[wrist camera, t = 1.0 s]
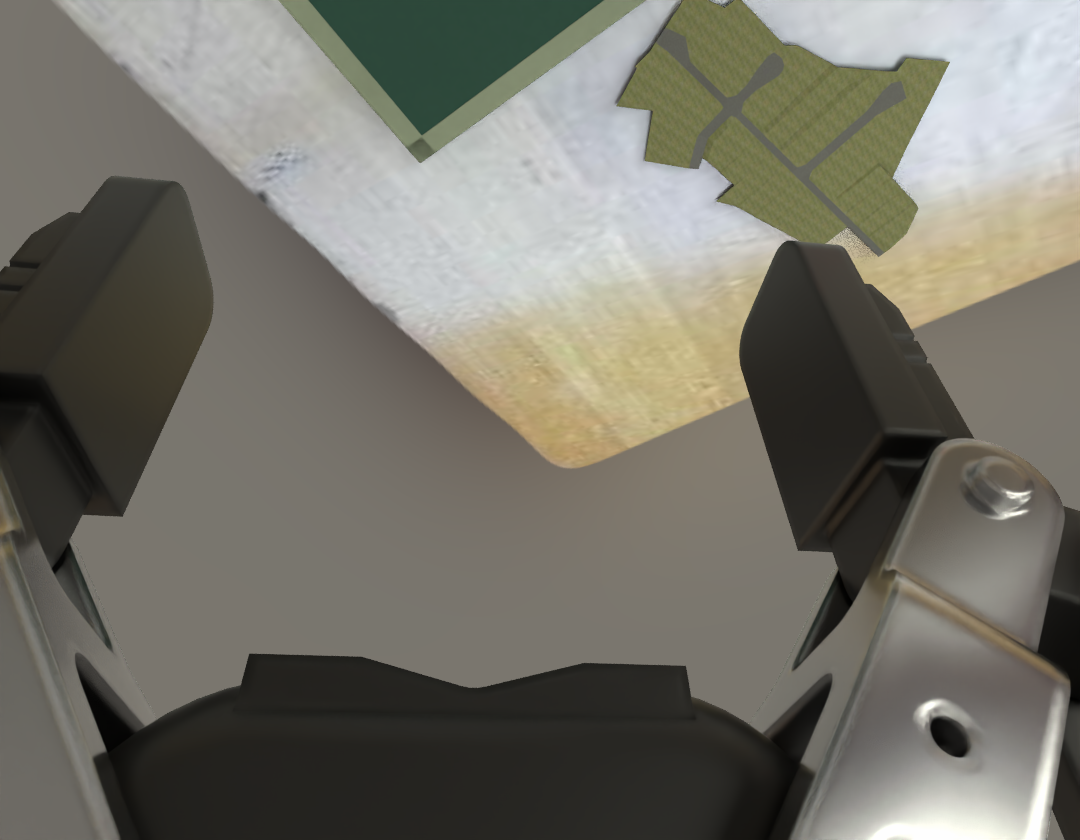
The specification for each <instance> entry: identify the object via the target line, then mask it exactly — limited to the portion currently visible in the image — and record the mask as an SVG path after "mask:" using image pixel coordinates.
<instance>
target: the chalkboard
mask: <svg viewBox="0 0 1080 840" xmlns="http://www.w3.org/2000/svg"><path fill="white" fill-rule="evenodd" d="M279 1H280V3H281V4H282V5H283V6H284V7H285V8H286V9H287V11H288V12H289V13H290V14H291V15H292V16H293V18H294V19H295V20H296V21H297V22H298V23H299V24H300V26H301V27H302V28H303V29H304V30H305V31H306V33H307V34H308V35H309V36H310V37H311V38H312V39H313V41H314V42H315V43H316V44H317V45H318V46H319V47H320V49H321V50H322V51H323V52H324V53H325V54H326V56H327V57H328V58H329V59H330V60H331V61H332V62H333V64H334V65H335V66H336V67H337V68H338V69H339V71H340V72H341V73H342V74H343V75H344V76H345V77H346V79H347V80H348V81H349V82H350V83H351V84H352V86H353V87H354V88H355V89H356V90H357V91H358V92H359V94H360V95H361V96H362V97H363V98H364V99H365V100H366V102H367V103H368V104H369V105H370V106H371V107H372V109H373V110H374V111H375V112H376V113H377V114H378V115H379V117H380V118H381V119H382V120H383V121H384V122H385V124H386V125H387V126H388V127H389V128H390V129H391V130H392V132H393V133H394V134H395V135H396V136H397V137H398V139H399V140H400V141H401V142H402V143H403V144H404V145H405V147H406V148H407V149H408V150H409V151H410V152H411V153H412V155H413V156H414V157H415V158H416V159H417V160H418V162H419V163H421V162H423V161H424V160H425V159H427V158H428V157H430V156H431V155H432V154H434V153H435V152H437V151H438V150H439V149H441V148H442V147H443V146H445V145H446V144H448V143H449V142H450V141H452V140H453V139H455V138H456V137H457V136H459V135H460V134H461V133H463V132H464V131H466V130H467V129H468V128H470V127H471V126H473V125H474V124H475V123H477V122H478V121H479V120H481V119H482V118H484V117H485V116H486V115H488V114H489V113H491V112H492V111H493V110H495V109H496V108H497V107H499V106H500V105H502V104H503V103H504V102H506V101H507V100H508V99H510V98H511V97H513V96H514V95H515V94H517V93H518V92H520V91H521V90H522V89H524V88H525V87H526V86H528V85H529V84H531V83H532V82H533V81H535V80H536V79H538V78H539V77H540V76H542V75H543V74H544V73H546V72H547V71H549V70H550V69H551V68H553V67H554V66H556V65H557V64H558V63H560V62H561V61H562V60H564V59H565V58H567V57H568V56H569V55H571V54H572V53H574V52H575V51H576V50H578V49H579V48H580V47H582V46H583V45H585V44H586V43H587V42H589V41H590V40H591V39H593V38H594V37H596V36H597V35H598V34H600V33H601V32H603V31H604V30H605V29H607V28H608V27H609V26H611V25H612V24H614V23H615V22H616V21H618V20H619V19H621V18H622V17H623V16H625V15H626V14H627V13H629V12H630V11H632V10H633V9H634V8H636V7H637V6H639V5H640V4H641V3H643V2H644V1H645V0H279Z"/></svg>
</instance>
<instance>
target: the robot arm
mask: <svg viewBox="0 0 1080 840" xmlns="http://www.w3.org/2000/svg"><path fill="white" fill-rule="evenodd" d="M212 314H213V288H212V282H211V278H210V274H209V271H208V267H207V263H206V260H205V256H204V253H203V249H202V246H201V242H200V238H199V235H198V231H197V228H196V224H195V221H194V217H193V213H192V210H191V206H190V203H189V200H188V197H187V194H186V192H185V190H184V189H183V187H182V186H181V185H180V184H179V183H177V182H174V181H164V180H154V179H142V178H132V177H121V176H111V177H110V178H108V179H107V180H106V181H105V182H104V183H103V185H102V186H101V187H100V189H99V190H98V191H97V192H96V194H95V195H94V196H93V197H92V199H91V200H90V201H89V203H88V204H87V205H86V206H85V208H84V209H83V210H82V212H81V213H74V212H69V213H67V214H65V215H63V216H62V217H60V218H58V219H57V220H55V221H53V222H51V223H50V224H48V225H46V226H45V227H43V228H41V229H39V230H38V231H36V232H34V233H33V234H31V236H30V237H29V238H28V239H27V240H26V242H25V243H24V244H23V245H22V247H21V248H20V249H19V250H18V251H17V252H16V254H15V255H14V256H13V257H12V258H11V260H10V267H6V266H5V267H4V268H3V269H2V270H1V272H0V840H1047V834H1048V828H1049V821H1050V816H1051V810H1053V813H1054V815H1055V817H1056V820H1057V822H1058V824H1059V827H1060V829H1061V832H1062V834H1063V837H1064V839H1065V840H1080V511H1077V510H1074V509H1071V508H1068V507H1065V506H1063V505H1062V502H1061V500H1060V497H1059V496H1058V494H1057V492H1056V491H1055V489H1054V488H1053V486H1052V485H1051V484H1050V483H1049V481H1048V480H1047V479H1046V478H1045V477H1044V476H1043V475H1042V474H1041V473H1040V472H1039V471H1038V470H1037V469H1036V468H1035V467H1033V466H1032V465H1031V464H1030V463H1028V462H1027V461H1025V460H1024V459H1022V458H1021V457H1019V456H1018V455H1016V454H1014V453H1013V452H1011V451H1009V450H1007V449H1005V448H1002V447H1000V446H998V445H995V444H992V443H989V442H986V441H982V440H977V439H974V437H973V435H972V434H971V432H970V430H969V429H968V427H967V425H966V423H965V422H964V420H963V418H962V417H961V415H960V413H959V411H958V410H957V408H956V406H955V405H954V403H953V401H952V399H951V398H950V396H949V394H948V392H947V391H946V389H945V387H944V386H943V384H942V382H941V380H940V379H939V377H938V375H937V374H936V372H935V370H934V368H933V367H932V365H931V364H929V363H926V360H927V357H926V355H925V353H924V351H923V349H922V348H921V346H920V344H919V343H918V341H914V334H913V332H912V331H911V329H910V327H909V325H908V324H907V322H906V320H905V319H904V317H903V315H902V313H901V312H900V310H899V309H898V308H897V307H896V306H895V305H894V304H893V303H892V302H891V301H889V300H888V299H887V298H886V297H885V296H884V295H883V294H882V293H880V292H879V291H878V290H877V289H876V288H875V287H874V286H873V285H872V284H864V282H863V280H862V278H861V276H860V274H859V273H858V271H857V269H856V267H855V265H854V264H853V262H852V260H851V258H850V256H849V255H848V253H847V251H846V250H845V248H843V247H842V246H840V245H832V244H821V243H810V242H800V241H786V242H784V243H783V244H782V245H781V246H780V247H779V249H778V250H777V252H776V254H775V256H774V258H773V260H772V262H771V265H770V267H769V269H768V272H767V274H766V276H765V279H764V281H763V283H762V286H761V288H760V290H759V292H758V295H757V297H756V299H755V302H754V304H753V306H752V309H751V311H750V313H749V316H748V318H747V320H746V322H745V325H744V328H743V331H742V335H741V340H740V350H739V357H740V366H741V370H742V373H743V376H744V379H745V382H746V386H747V389H748V392H749V395H750V398H751V401H752V405H753V408H754V411H755V414H756V417H757V421H758V424H759V427H760V430H761V433H762V436H763V440H764V443H765V446H766V450H767V453H768V456H769V459H770V462H771V465H772V468H773V472H774V475H775V478H776V481H777V485H778V488H779V491H780V494H781V497H782V500H783V504H784V507H785V510H786V513H787V517H788V520H789V523H790V526H791V529H792V533H793V536H794V539H795V542H796V545H797V549H798V551H819V552H833V555H834V558H835V561H836V564H837V567H836V568H835V569H834V571H833V572H832V573H831V574H830V576H829V577H828V579H827V580H826V582H825V584H824V586H823V588H822V590H821V592H820V594H819V596H818V598H817V600H816V603H815V604H814V607H813V609H812V611H811V613H810V615H809V617H808V619H807V621H806V623H805V625H804V627H803V629H802V631H801V633H800V635H799V637H798V639H797V641H796V643H795V645H794V647H793V649H792V652H791V653H790V656H789V657H788V659H787V661H786V663H785V666H784V668H783V670H782V672H781V674H780V676H779V678H778V680H777V682H776V683H775V685H774V687H773V688H772V690H771V692H770V694H769V695H768V697H767V698H766V699H765V701H764V702H763V704H762V705H761V706H760V708H759V709H758V711H757V712H756V714H755V716H754V717H753V719H752V720H751V722H750V723H749V724H748V723H746V722H744V721H743V720H741V719H739V718H737V717H736V716H734V715H732V714H730V713H729V712H727V711H725V710H723V709H721V708H719V707H716V706H714V705H712V704H709V703H707V702H705V701H703V700H700V699H697V698H694V697H691V694H690V688H689V682H688V676H687V670H686V666H668V665H634V664H630V665H629V664H598V663H582V664H578V665H574V666H570V667H566V668H561V669H557V670H553V671H549V672H545V673H541V674H536V675H532V676H529V677H524V678H520V679H516V680H511V681H507V682H503V683H499V684H495V685H491V686H487V687H482V688H468V687H463V686H459V685H456V684H452V683H449V682H445V681H442V680H439V679H435V678H432V677H428V676H425V675H422V674H418V673H415V672H411V671H408V670H405V669H401V668H398V667H395V666H391V665H388V664H384V663H381V662H378V661H374V660H371V659H367V658H363V657H348V656H313V655H277V654H276V655H275V654H249V657H248V661H247V664H246V668H245V672H244V676H243V679H242V684H241V685H240V686H236V687H232V688H228V689H224V690H222V691H219V692H216V693H213V694H210V695H208V696H205V697H202V698H199V699H196V700H194V701H192V702H190V703H188V704H186V705H184V706H182V707H180V708H178V709H175V710H173V711H171V712H169V713H167V714H165V715H164V716H162V717H160V718H159V719H157V718H156V717H155V714H154V712H153V710H152V709H151V707H150V705H149V703H148V701H147V699H146V698H145V696H144V694H143V692H142V691H141V689H140V687H139V686H138V684H137V682H136V680H135V679H134V677H133V675H132V673H131V671H130V669H129V667H128V665H127V662H126V660H125V658H124V656H123V653H122V651H121V649H120V646H119V644H118V642H117V639H116V637H115V635H114V632H113V630H112V627H111V625H110V623H109V620H108V618H107V616H106V613H105V611H104V609H103V606H102V604H101V602H100V599H99V597H98V595H97V592H96V590H95V588H94V585H93V583H92V580H91V578H90V576H89V573H88V571H87V569H86V566H85V564H84V562H83V559H82V557H81V555H80V552H79V550H78V548H77V546H76V545H75V543H74V541H73V540H72V539H71V536H72V534H73V532H74V530H75V528H76V526H77V524H78V522H79V520H80V518H81V516H82V515H100V516H123V514H124V512H125V510H126V508H127V506H128V503H129V501H130V499H131V497H132V495H133V492H134V490H135V488H136V486H137V483H138V481H139V479H140V477H141V475H142V473H143V471H144V468H145V466H146V464H147V462H148V460H149V457H150V455H151V453H152V451H153V449H154V446H155V444H156V442H157V440H158V438H159V436H160V433H161V431H162V429H163V427H164V425H165V422H166V420H167V418H168V416H169V414H170V412H171V409H172V407H173V405H174V403H175V400H176V398H177V396H178V394H179V392H180V390H181V387H182V385H183V383H184V381H185V379H186V376H187V374H188V372H189V370H190V367H191V366H192V363H193V361H194V359H195V357H196V355H197V352H198V350H199V348H200V346H201V344H202V341H203V339H204V337H205V335H206V333H207V331H208V328H209V326H210V322H211V319H212Z"/></svg>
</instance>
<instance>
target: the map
mask: <svg viewBox="0 0 1080 840" xmlns="http://www.w3.org/2000/svg"><path fill="white" fill-rule="evenodd" d="M949 63H950V62H945V61H934V60H923V59H912V58H906V59H905V61H904V62H903V64H902V65H901V66H900V68H899V69H898V71H875V70H865V69H855V68H839V67H836V66H835V65H833V64H831V63H829V62H827V61H825V60H824V59H822V58H820V57H818V56H816V55H814V54H812V53H810V52H809V51H807V50H805V49H803V48H801V47H799V46H796V45H789V46H785V45H784V44H783V43H782V42H781V41H780V40H779V39H778V38H777V37H776V36H775V35H774V34H773V33H772V32H771V31H770V30H769V29H768V28H767V27H766V26H765V25H764V24H763V23H762V21H761V20H760V19H759V18H758V17H757V16H756V15H755V14H754V13H753V12H752V11H751V10H750V9H749V8H748V7H747V6H746V5H745V4H744V3H743V2H742V1H741V0H734V1H733V2H732V3H730V4H729V5H728V6H726V7H725V8H724V7H722V6H720V5H717V4H715V3H713V2H711V1H708V0H683V1H682V3H681V5H680V6H679V8H678V9H677V11H676V12H675V14H674V15H673V17H672V18H671V20H670V21H669V23H668V24H667V26H666V27H665V29H664V30H663V32H662V33H661V35H660V36H659V38H658V39H657V41H656V42H655V44H654V45H653V47H652V49H651V50H650V52H649V53H648V54H647V55H646V56H645V57H644V58H643V59H642V60H641V61H640V62H639V63H638V64H637V65H636V66H635V67H636V68H637V69H636V71H635V73H634V75H633V77H632V78H631V80H630V82H629V84H628V86H627V88H626V90H625V91H624V93H623V95H622V97H621V99H620V101H619V102H618V104H617V106H619V107H627V108H635V109H644V110H652V111H653V113H652V119H651V125H650V131H649V137H648V143H647V149H646V156H645V161H648V162H654V163H660V164H666V165H672V166H678V167H684V168H692V169H699V166H700V163H701V160H702V158H703V159H705V160H706V161H708V162H709V163H710V164H711V165H712V166H714V167H715V168H716V169H717V170H718V171H719V172H720V173H721V174H722V175H723V176H725V177H726V178H727V179H728V180H729V181H730V182H731V183H733V184H734V186H733V187H732V188H731V189H730V190H728V191H727V192H726V193H725V194H724V195H723V196H722V197H721V198H720V199H718V200H717V202H721V203H725V204H729V205H733V206H736V207H738V208H740V209H742V210H744V211H746V212H748V213H749V214H751V215H753V216H754V217H756V218H758V219H760V220H762V221H764V222H766V223H768V224H770V225H771V226H773V227H775V228H777V229H779V230H781V231H783V232H785V233H786V234H788V235H790V236H792V237H794V238H796V239H798V240H800V241H801V242H810V243H821V244H825V243H827V242H828V241H829V240H831V239H832V238H833V237H835V236H836V235H837V234H838V233H840V232H841V231H842V230H844V229H845V228H846V227H848V228H849V229H850V230H851V231H852V232H853V233H854V234H856V235H857V236H858V237H859V238H860V239H861V240H862V241H863V242H864V243H865V244H866V245H867V246H868V247H869V248H870V249H871V250H872V251H873V252H874V253H875V254H876V255H877V256H878V257H879V256H880V255H882V254H883V253H885V252H886V251H887V250H889V249H890V248H891V247H893V246H894V245H895V244H896V243H897V242H898V241H899V240H900V239H901V238H902V237H903V236H904V235H905V234H906V233H907V231H908V229H909V227H910V225H911V223H912V221H913V219H914V216H915V214H916V212H917V210H918V207H917V205H916V204H915V203H914V201H913V200H912V199H911V198H910V197H909V196H908V195H907V194H906V193H905V192H904V191H903V189H902V188H901V187H900V186H899V185H898V184H897V183H896V182H895V181H894V180H893V179H892V177H893V175H894V173H895V171H896V169H897V167H898V165H899V162H900V160H901V158H902V156H903V154H904V152H905V150H906V148H907V146H908V144H909V142H910V140H911V138H912V136H913V134H914V132H915V130H916V128H917V126H918V124H919V122H920V120H921V118H922V116H923V114H924V112H925V110H926V109H927V107H928V105H929V103H930V101H931V99H932V97H933V95H934V93H935V91H936V89H937V87H938V85H939V83H940V81H941V79H942V77H943V75H944V73H945V71H946V69H947V67H948V65H949ZM880 165H881V166H882V167H883V168H884V169H883V168H882V167H881V166H880Z"/></svg>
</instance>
